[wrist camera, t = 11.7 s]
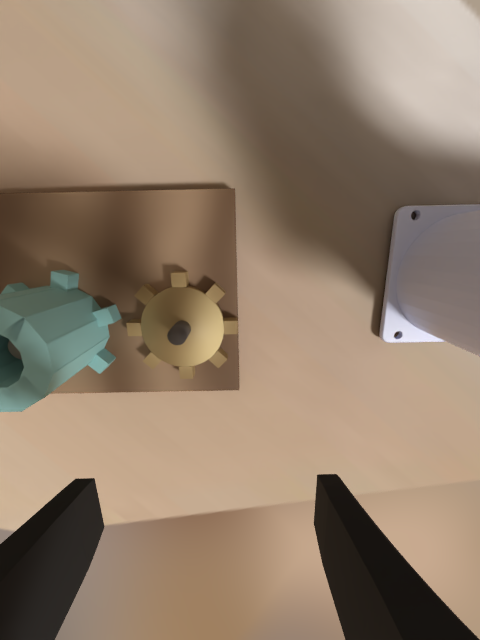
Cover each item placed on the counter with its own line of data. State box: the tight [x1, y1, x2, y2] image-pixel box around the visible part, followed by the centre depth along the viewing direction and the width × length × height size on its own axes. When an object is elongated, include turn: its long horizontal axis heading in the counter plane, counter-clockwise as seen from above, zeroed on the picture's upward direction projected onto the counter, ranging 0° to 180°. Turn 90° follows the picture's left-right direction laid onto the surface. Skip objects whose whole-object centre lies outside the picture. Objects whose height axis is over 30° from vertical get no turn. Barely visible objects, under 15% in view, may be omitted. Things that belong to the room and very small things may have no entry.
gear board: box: [0, 189, 239, 394], centre depth 14 cm, size 14×12×4 cm
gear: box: [0, 270, 121, 412], centre depth 13 cm, size 7×7×5 cm
